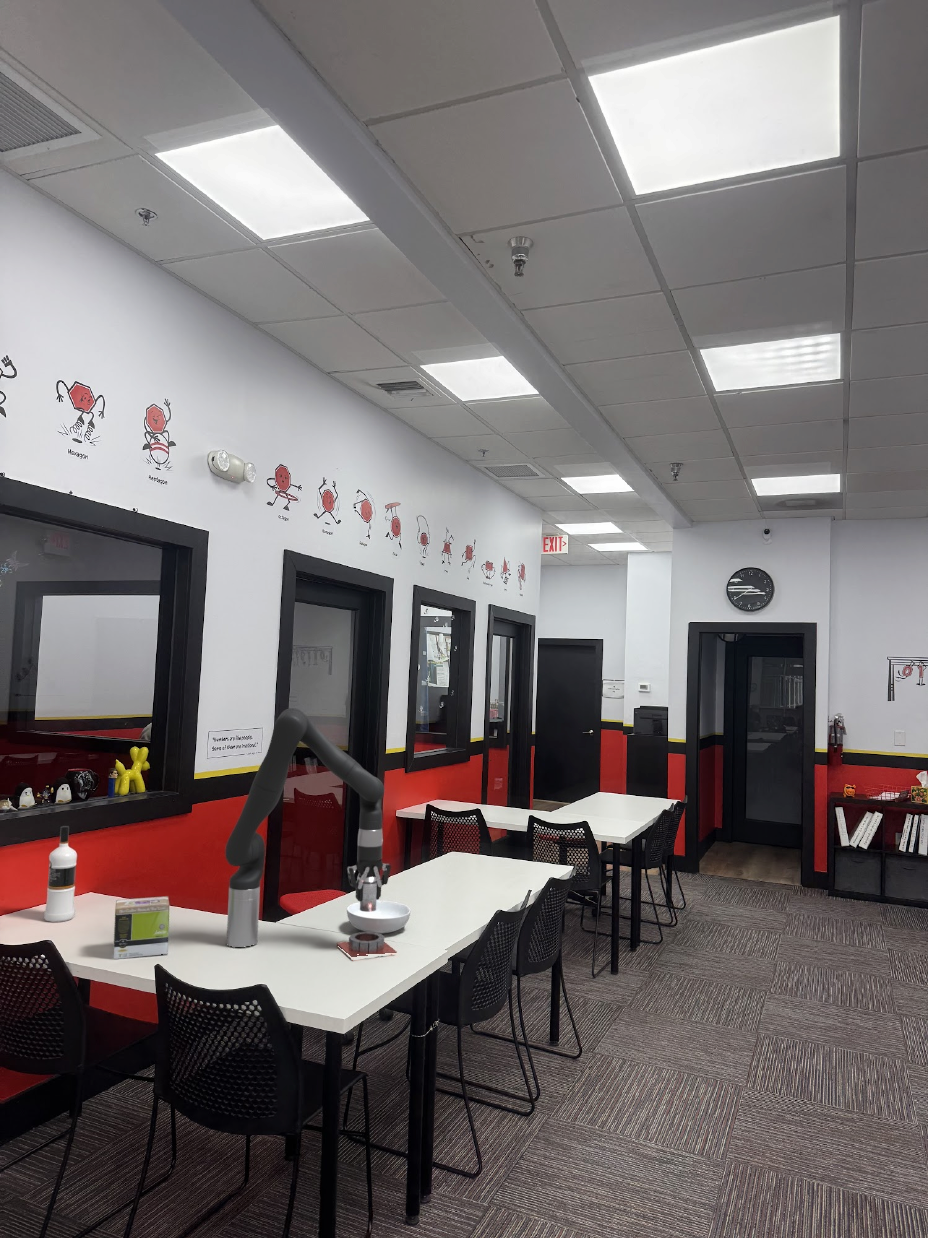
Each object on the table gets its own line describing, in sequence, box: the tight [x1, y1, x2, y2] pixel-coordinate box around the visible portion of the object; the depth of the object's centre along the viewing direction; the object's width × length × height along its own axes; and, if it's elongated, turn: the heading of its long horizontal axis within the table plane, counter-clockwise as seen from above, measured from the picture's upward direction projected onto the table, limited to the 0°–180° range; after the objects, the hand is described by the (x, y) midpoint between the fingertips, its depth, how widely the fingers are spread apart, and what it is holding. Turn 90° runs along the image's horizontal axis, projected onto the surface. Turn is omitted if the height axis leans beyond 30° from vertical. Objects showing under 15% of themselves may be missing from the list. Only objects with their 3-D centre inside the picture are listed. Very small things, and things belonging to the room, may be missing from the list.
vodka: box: [43, 825, 78, 923], centre depth 282 cm, size 9×9×30 cm
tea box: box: [113, 895, 170, 960], centre depth 252 cm, size 15×10×15 cm
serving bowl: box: [346, 899, 412, 935], centre depth 281 cm, size 21×21×7 cm
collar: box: [336, 931, 398, 957], centre depth 260 cm, size 14×14×4 cm
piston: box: [359, 876, 377, 912], centre depth 261 cm, size 5×5×10 cm
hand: (368, 899), depth 261 cm, fingers closed on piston, 5 cm apart
